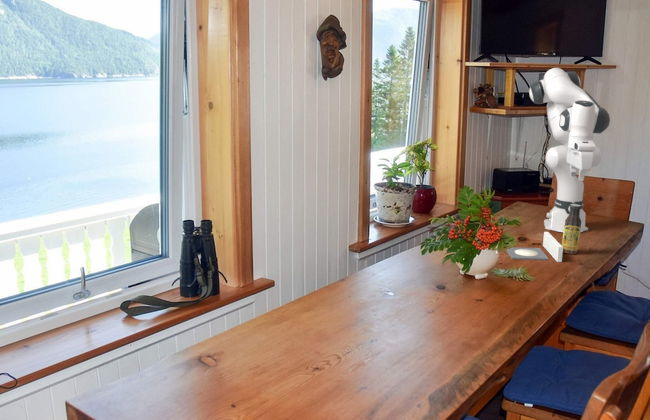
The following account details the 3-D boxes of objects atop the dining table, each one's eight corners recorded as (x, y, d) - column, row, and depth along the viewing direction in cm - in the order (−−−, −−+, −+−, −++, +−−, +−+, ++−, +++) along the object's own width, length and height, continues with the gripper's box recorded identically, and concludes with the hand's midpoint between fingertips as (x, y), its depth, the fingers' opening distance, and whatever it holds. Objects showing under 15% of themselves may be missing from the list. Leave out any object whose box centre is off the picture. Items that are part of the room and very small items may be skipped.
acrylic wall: (542, 245, 259) (544, 231, 258) (546, 245, 259) (548, 231, 258) (557, 262, 238) (558, 247, 236) (561, 262, 238) (563, 247, 236)
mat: (505, 248, 255) (505, 246, 255) (539, 249, 254) (539, 247, 253) (512, 259, 241) (512, 257, 241) (548, 260, 240) (548, 258, 240)
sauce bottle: (560, 253, 248) (565, 205, 243) (561, 249, 254) (565, 202, 249) (578, 255, 246) (583, 207, 241) (578, 251, 251) (583, 203, 247)
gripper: (564, 140, 250) (561, 173, 253) (579, 146, 230) (576, 183, 233) (580, 140, 249) (577, 173, 252) (597, 146, 229) (593, 183, 233)
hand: (576, 178), depth 243 cm, fingers open, 8 cm apart
